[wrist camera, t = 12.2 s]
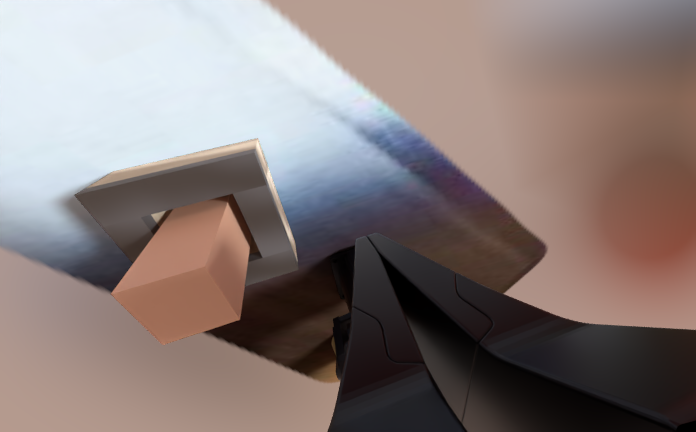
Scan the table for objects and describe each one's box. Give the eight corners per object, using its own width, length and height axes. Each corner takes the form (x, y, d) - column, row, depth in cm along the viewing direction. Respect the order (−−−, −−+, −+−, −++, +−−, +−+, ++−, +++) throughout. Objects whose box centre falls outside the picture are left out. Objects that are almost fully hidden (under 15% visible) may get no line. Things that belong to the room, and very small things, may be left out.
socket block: (295, 242, 24) (298, 269, 20) (186, 273, 22) (171, 308, 19) (257, 138, 18) (254, 152, 15) (113, 171, 17) (74, 195, 14)
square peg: (252, 225, 22) (240, 319, 13) (206, 238, 21) (162, 345, 13) (234, 184, 20) (205, 266, 11) (181, 197, 19) (110, 294, 11)
